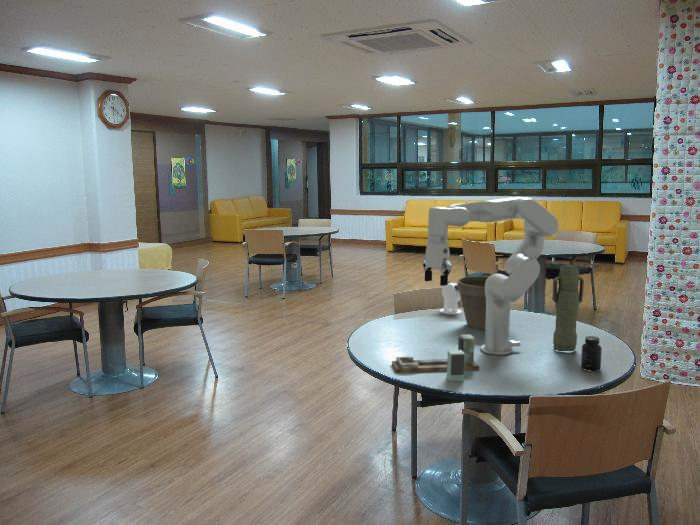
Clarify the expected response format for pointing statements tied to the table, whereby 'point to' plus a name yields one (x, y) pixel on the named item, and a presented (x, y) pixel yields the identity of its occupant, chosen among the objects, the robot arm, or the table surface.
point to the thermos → (567, 307)
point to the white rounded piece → (451, 299)
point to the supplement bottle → (591, 354)
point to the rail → (438, 364)
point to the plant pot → (473, 300)
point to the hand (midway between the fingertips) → (435, 283)
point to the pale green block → (455, 365)
